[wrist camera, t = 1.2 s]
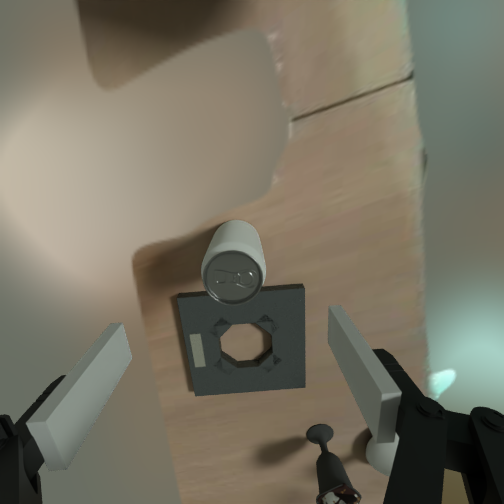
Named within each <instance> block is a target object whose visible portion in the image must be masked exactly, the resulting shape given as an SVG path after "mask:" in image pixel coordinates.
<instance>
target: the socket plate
mask: <svg viewBox="0 0 504 504" xmlns="http://www.w3.org/2000/svg"><path fill="white" fill-rule="evenodd" d="M177 302H178V307H179V313H180V318H181V323H182V328H183V334H184V339H185V344H186V350H187V355H188V360H189V366H190V371H191V376H192V382H193V387H194V392H195V396H205V395H218V394H230V393H243V392H255V391H268V390H280V389H293V388H305V288H304V286H303V284H290V285H278V286H265V287H261V290H260V291H259V293H258V294H257V296H256V297H255V298H253V299H252V300H251V301H249V302H247V303H245V304H242V305H236V306H231V305H225V304H222V303H219V302H217V301H216V300H214V299H213V298H212V297H211V296H210V295H209V294H208V293H207V291H201V292H188V293H179V295H178V297H177ZM246 323H256V324H257V325H259V326H260V327H262V328H263V329H264V330H266V331H267V332H268V333H270V334H271V341H272V347H271V348H270V349H269V350H268V351H267V352H266V353H265V354H264V355H262V356H261V357H260V358H259V359H258V360H247V361H237V360H235V359H234V358H232V357H231V356H229V355H228V354H226V353H225V352H223V351H222V349H221V342H220V337H221V336H222V335H223V334H224V333H225V332H226V331H227V330H228V329H229V328H230V327H231V326H232V325H234V324H246Z"/></svg>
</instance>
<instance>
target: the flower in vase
mask: <svg viewBox="0 0 504 504" xmlns="http://www.w3.org/2000/svg"><path fill="white" fill-rule="evenodd" d="M398 441H399V437H398V435H397V433H396V435H395V442H392V443H380V444H376V442H375V440H374V438H373V437H372V438H371V439H370V440H369V442H368V444H367V447H366V458H367V460H368V462H369V463H370V464H371V466H372V467H373V468H374V469H376V470H377V471H379V472H381V473H382V474H384V475H387V476H389V477H390V474H391V470H392V466H393V462H394V457H395V453H396V449H397V445H398Z"/></svg>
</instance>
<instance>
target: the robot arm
mask: <svg viewBox="0 0 504 504" xmlns="http://www.w3.org/2000/svg"><path fill="white" fill-rule="evenodd" d="M328 344H329V346H330V348H331V350H332V352H333V354H334V356H335V358H336V360H337V362H338V364H339V367H340V369H341V371H342V373H343V375H344V377H345V379H346V381H347V383H348V385H349V387H350V390H351V392H352V394H353V396H354V398H355V400H356V402H357V404H358V406H359V408H360V410H361V413H362V415H363V417H364V419H365V421H366V423H367V425H368V427H369V429H370V431H371V433H372V436H373V438H374V440H375V442H376V444H380V443H392V442H395V435H396V433H397V435H398V437H399V441H398V445H397V449H396V453H395V457H394V462H393V466H392V470H391V474H390V478H389V482H388V486H387V490H386V494H385V498H384V502H383V504H441V503H442V502H441V501H442V491H443V479H444V468H445V469H449V470H453V471H457V472H461V475H462V478H463V482H464V486H465V490H466V494H467V498H468V501H469V504H504V415H502V414H501V413H499V412H498V411H495V410H493V409H490V408H487V407H475V408H473V409H472V411H471V413H470V415H466V414H462V413H456V412H451V411H448V410H445V409H444V408H443V407H442V406H441V405H440V404H439V403H438V402H436V401H434V400H433V399H431V398H428V397H425V396H424V395H423V394H422V392H421V391H420V390H419V388H418V387H417V386H416V385H415V383H414V382H413V381H412V380H411V378H410V377H409V376H408V374H407V373H406V372H405V371H404V369H403V368H402V367H401V366H400V365H399V363H398V362H397V361H396V359H395V358H394V357H393V355H391V354H390V353H388V352H387V351H386V350H384V349H371V348H370V346H369V345H368V343H367V342H366V340H365V339H364V338H363V336H362V335H361V333H360V332H359V330H358V329H357V328H356V326H355V325H354V323H353V322H352V320H351V319H350V318H349V316H348V315H347V313H346V312H345V310H344V309H343V308H342V306H341V305H335V306H329V315H328ZM131 359H132V355H131V351H130V348H129V345H128V340H127V337H126V333H125V329H124V326H123V323H112V324H110V325H109V326H108V327H107V329H106V330H105V331H104V332H103V333H102V334H101V335H100V337H99V338H98V339H97V340H96V341H95V342H94V344H93V345H92V346H91V347H90V348H89V350H88V351H87V352H86V353H85V354H84V355H83V357H82V358H81V359H80V360H79V362H77V364H76V365H75V366H74V367H73V368H72V369H71V371H70V372H69V373H68V374H67V375H63V376H60V377H59V378H58V379H56V380H55V381H54V382H52V383H51V384H50V385H49V386H48V387H47V388H46V390H45V391H44V392H43V394H42V395H40V396H39V397H38V399H37V400H36V402H34V403H33V404H32V406H30V408H29V409H28V410H27V411H26V412H25V413H24V414H23V415H22V416H21V418H20V419H19V420H18V421H17V422H16V423H15V424H13V422H12V420H11V418H10V416H9V415H5V414H4V415H0V504H42V493H41V481H40V476H39V474H38V470H39V468H40V467H41V465H42V464H43V463H44V462H45V464H46V466H47V468H48V470H49V471H55V470H66V469H68V467H69V465H70V464H71V462H72V460H73V459H74V457H75V455H76V453H77V452H78V450H79V448H80V447H81V445H82V443H83V442H84V440H85V438H86V436H87V435H88V433H89V431H90V430H91V428H92V426H93V424H94V423H95V421H96V419H97V417H98V416H99V414H100V412H101V411H102V409H103V407H104V406H105V404H106V402H107V400H108V399H109V397H110V395H111V394H112V392H113V390H114V388H115V387H116V385H117V383H118V382H119V380H120V378H121V376H122V375H123V373H124V371H125V369H126V368H127V366H128V365H129V363H130V361H131Z"/></svg>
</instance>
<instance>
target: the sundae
mask: <svg viewBox="0 0 504 504" xmlns="http://www.w3.org/2000/svg"><path fill="white" fill-rule="evenodd" d="M332 437H333V429H332V428H331V427H330V426H328V425H325V424H319V425H315V426H313V427H311V428H310V429H309V430H308V432H307V438H308V440H309V441H310V442H312V443H314V444H319V445H320V447H321V451H322V453H321V455H320V456H319V458H318V460H317V462H316V465H317V477H318V484H319V495H318V496H317V497H316V503H317V504H359V502H360V500H361V495H360V494H359V492H358V491H357V490H355V489H354V488H353V487H352V484H351V482H350V480H349V478H348V476H347V474H346V471H345V469H344V467H343V465H342V463H341V461H340V460H339V458H338V457H337V456H336V455H334V454H333V453H331V452H329V451H328V448H327V444H326V442H328V441H329V440H330V439H331V438H332Z"/></svg>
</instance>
